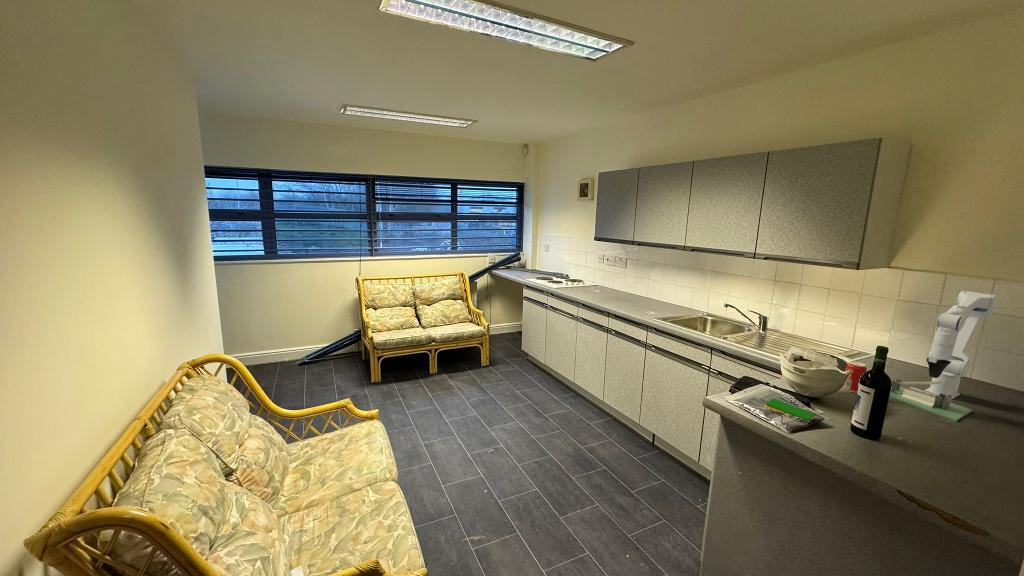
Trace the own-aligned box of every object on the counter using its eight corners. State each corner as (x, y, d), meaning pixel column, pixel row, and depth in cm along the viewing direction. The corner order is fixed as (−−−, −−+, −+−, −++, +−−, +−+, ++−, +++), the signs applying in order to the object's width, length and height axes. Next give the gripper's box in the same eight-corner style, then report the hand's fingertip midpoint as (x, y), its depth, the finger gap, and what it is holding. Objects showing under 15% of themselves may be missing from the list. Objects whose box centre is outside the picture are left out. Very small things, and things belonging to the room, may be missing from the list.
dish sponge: (807, 426, 139) (808, 420, 138) (764, 409, 150) (765, 403, 149) (814, 419, 143) (815, 413, 143) (772, 403, 154) (773, 397, 153)
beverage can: (865, 394, 162) (871, 367, 160) (849, 393, 163) (856, 366, 160) (852, 387, 169) (858, 360, 166) (837, 386, 169) (843, 360, 166)
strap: (897, 383, 164) (896, 381, 164) (945, 383, 152) (944, 381, 152) (894, 384, 163) (893, 382, 163) (942, 384, 150) (941, 382, 150)
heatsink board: (890, 385, 171) (893, 372, 170) (971, 411, 151) (975, 398, 149) (872, 392, 164) (876, 380, 163) (955, 421, 143) (959, 407, 142)
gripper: (951, 350, 146) (941, 384, 149) (965, 345, 153) (955, 377, 156) (925, 343, 152) (915, 376, 155) (939, 339, 159) (930, 370, 162)
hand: (933, 376), depth 156 cm, fingers closed
